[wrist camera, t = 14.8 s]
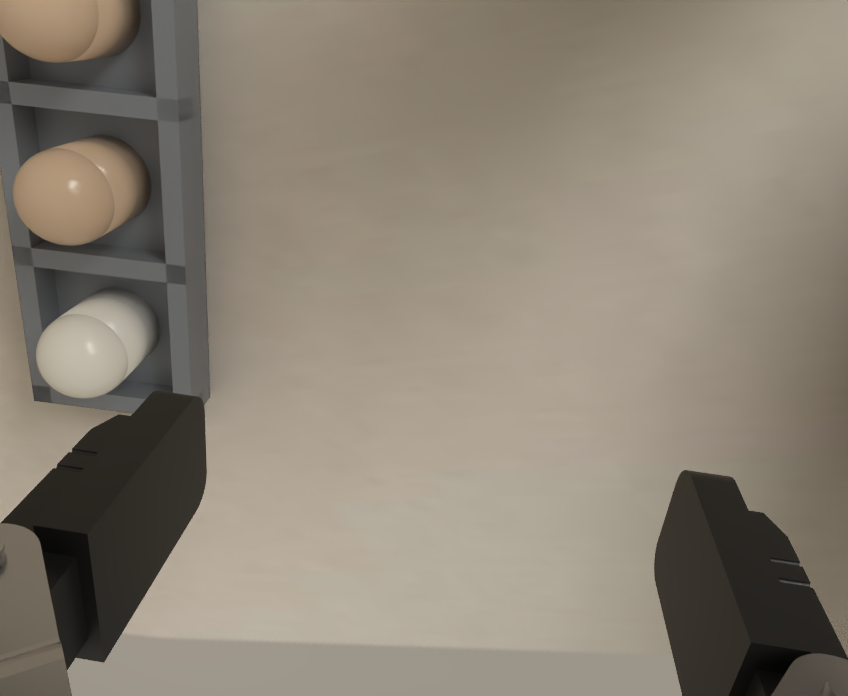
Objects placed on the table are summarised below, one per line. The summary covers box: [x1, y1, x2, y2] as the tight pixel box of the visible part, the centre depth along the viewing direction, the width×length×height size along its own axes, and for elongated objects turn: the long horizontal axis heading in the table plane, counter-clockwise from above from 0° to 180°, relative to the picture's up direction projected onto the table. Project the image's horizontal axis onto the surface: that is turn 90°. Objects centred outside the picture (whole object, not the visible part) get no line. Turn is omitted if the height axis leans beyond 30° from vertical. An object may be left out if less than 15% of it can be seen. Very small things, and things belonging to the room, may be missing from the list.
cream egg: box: [36, 287, 160, 398], centre depth 38 cm, size 4×4×6 cm
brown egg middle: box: [13, 135, 151, 246], centre depth 35 cm, size 4×4×6 cm
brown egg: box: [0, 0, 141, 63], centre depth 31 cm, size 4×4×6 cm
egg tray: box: [0, 0, 210, 413], centre depth 37 cm, size 25×9×3 cm, turn 175°
